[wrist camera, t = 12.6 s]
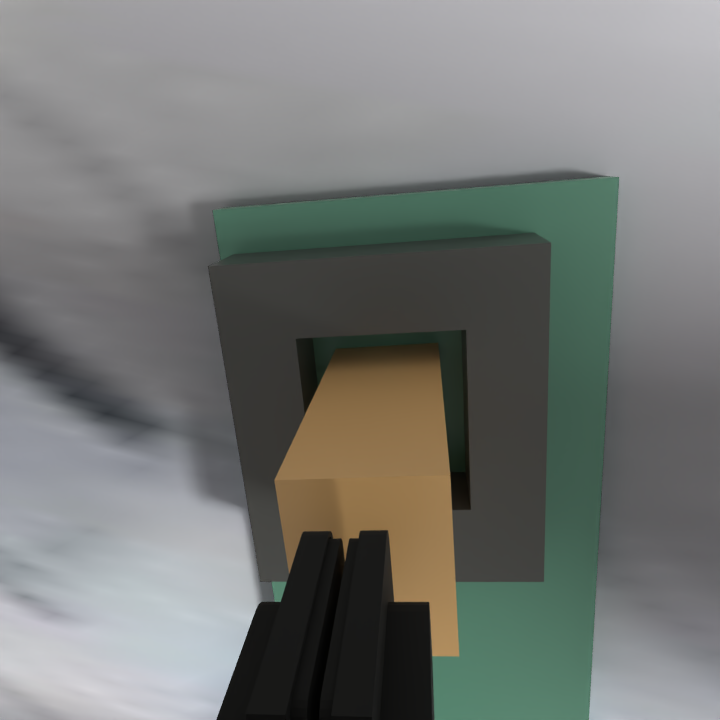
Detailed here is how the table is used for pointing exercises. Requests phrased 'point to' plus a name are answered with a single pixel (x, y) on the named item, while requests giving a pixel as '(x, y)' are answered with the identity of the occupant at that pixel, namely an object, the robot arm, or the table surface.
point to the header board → (450, 397)
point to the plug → (380, 472)
